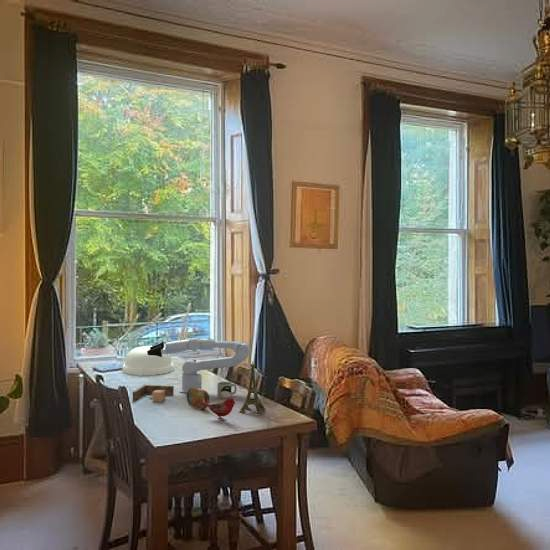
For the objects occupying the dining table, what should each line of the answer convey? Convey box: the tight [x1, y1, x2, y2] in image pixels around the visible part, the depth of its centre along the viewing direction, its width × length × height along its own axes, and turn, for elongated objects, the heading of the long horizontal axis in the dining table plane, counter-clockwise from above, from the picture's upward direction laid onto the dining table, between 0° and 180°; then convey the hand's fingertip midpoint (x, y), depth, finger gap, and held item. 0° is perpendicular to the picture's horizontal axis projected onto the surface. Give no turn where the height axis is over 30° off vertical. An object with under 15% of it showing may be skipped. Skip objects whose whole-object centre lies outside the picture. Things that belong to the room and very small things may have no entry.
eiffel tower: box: [238, 362, 266, 416], centre depth 245 cm, size 11×11×25 cm
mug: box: [216, 381, 238, 400], centre depth 270 cm, size 10×7×7 cm
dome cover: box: [121, 345, 175, 376], centre depth 330 cm, size 32×30×14 cm
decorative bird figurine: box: [201, 397, 236, 421], centre depth 232 cm, size 3×18×10 cm, turn 61°
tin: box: [186, 388, 210, 411], centre depth 250 cm, size 15×3×8 cm, turn 40°
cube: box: [152, 390, 166, 402], centre depth 261 cm, size 4×4×4 cm
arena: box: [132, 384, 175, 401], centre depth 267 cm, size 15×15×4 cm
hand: (148, 351), depth 278 cm, fingers open, 7 cm apart
